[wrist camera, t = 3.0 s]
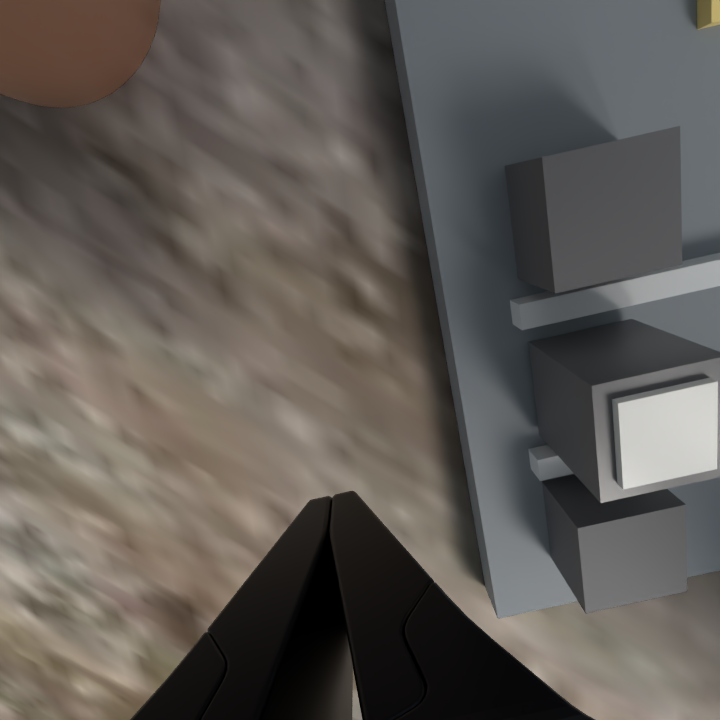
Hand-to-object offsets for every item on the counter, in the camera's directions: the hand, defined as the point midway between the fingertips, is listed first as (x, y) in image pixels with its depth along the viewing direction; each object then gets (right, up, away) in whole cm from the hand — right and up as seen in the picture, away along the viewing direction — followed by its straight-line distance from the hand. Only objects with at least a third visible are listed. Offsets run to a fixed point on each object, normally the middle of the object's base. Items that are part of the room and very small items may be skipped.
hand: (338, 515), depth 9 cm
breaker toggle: (+6, +2, +3) cm, 7 cm away
